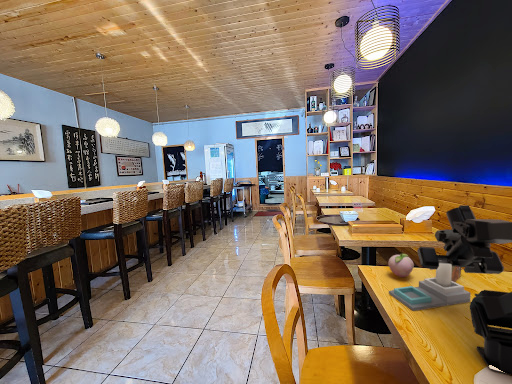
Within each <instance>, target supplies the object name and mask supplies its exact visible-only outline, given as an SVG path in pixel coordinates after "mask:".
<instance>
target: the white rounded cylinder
mask: <svg viewBox="0 0 512 384" xmlns="http://www.w3.org/2000/svg"><path fill="white" fill-rule="evenodd" d="M440 261H441V260H440ZM443 261H444V260H443ZM451 273H452V265H451V264H443V263H439V267H438V268H437V269H435V277H436V284H438V285H440V286H442V287H444V288H446V287H451Z"/></svg>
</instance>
